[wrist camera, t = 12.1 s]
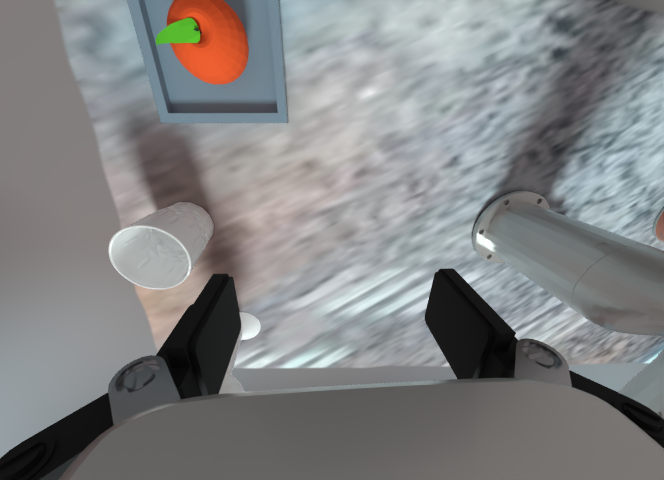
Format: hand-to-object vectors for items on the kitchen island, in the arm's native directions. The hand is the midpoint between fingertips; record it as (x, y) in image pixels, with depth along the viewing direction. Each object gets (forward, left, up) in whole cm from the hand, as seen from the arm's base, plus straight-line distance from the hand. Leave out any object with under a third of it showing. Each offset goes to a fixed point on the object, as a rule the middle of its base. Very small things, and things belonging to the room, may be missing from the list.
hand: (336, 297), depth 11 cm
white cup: (+18, +6, -26) cm, 32 cm away
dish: (+10, -14, -25) cm, 31 cm away
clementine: (+10, -14, -25) cm, 30 cm away
